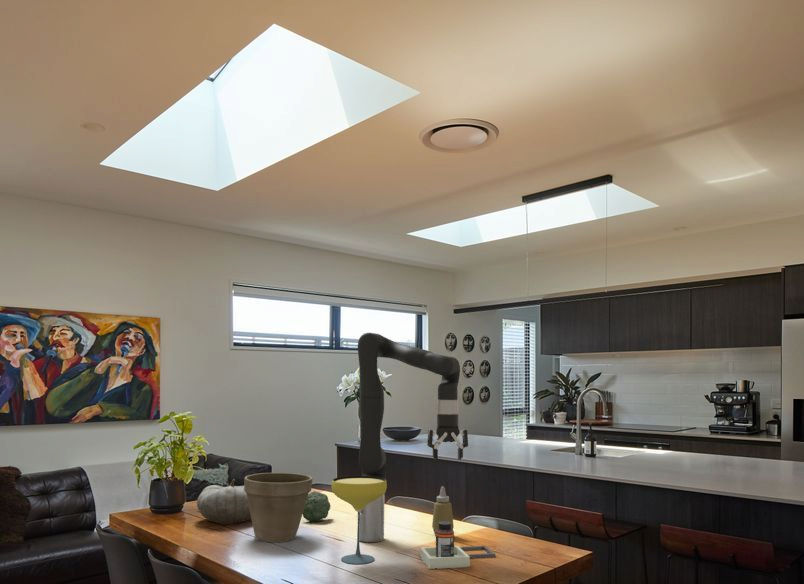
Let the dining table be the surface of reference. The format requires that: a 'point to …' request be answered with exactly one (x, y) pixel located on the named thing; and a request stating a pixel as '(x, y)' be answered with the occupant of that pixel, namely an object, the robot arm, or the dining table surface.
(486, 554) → the socket collar
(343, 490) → the cocktail glass
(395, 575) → the dining table surface
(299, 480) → the plant pot
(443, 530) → the supplement bottle
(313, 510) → the vegetable
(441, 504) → the squeeze bottle
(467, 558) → the dish
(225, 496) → the gourd
